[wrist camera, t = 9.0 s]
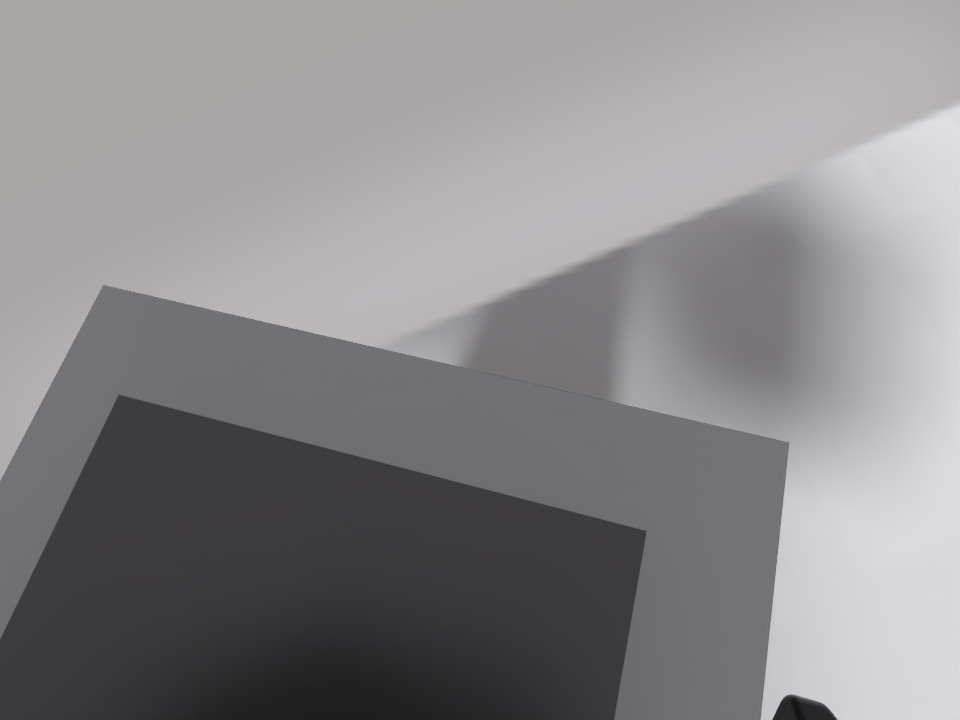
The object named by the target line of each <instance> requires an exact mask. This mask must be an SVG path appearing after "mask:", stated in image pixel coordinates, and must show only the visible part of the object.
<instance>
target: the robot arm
mask: <svg viewBox="0 0 960 720" xmlns="http://www.w3.org/2000/svg"><path fill="white" fill-rule="evenodd" d="M773 720H837V718H836V717H835V716H834V714H833V713H832V712H831V711H830V710H829V708H827V707H826V706H825V705H824V704H822V703H820V702H817V701H814V700H810V699H807V698H803V697H799V696H796V695H787V696H785V697H784V698H783V700H782V701H781V703H780V705H779V707H778V709H777V711H776V713H775V715H774V717H773Z"/></svg>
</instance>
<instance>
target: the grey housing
mask: <svg viewBox="0 0 960 720" xmlns="http://www.w3.org/2000/svg"><path fill="white" fill-rule="evenodd" d="M788 448H789V443H788V442H784V441H779V440H775V439H771V438H766V437H762V436H758V435H753V434H749V433H745V432H740V431H736V430H732V429H727V428H723V427H719V426H714V425H710V424H705V423H701V422H697V421H692V420H688V419H684V418H679V417H675V416H671V415H666V414H662V413H658V412H653V411H649V410H645V409H640V408H636V407H632V406H627V405H623V404H618V403H614V402H610V401H605V400H601V399H597V398H592V397H588V396H584V395H579V394H575V393H571V392H566V391H562V390H558V389H553V388H549V387H544V386H540V385H536V384H531V383H527V382H523V381H518V380H514V379H510V378H505V377H501V376H497V375H492V374H488V373H484V372H479V371H475V370H471V369H466V368H462V367H457V366H453V365H449V364H444V363H440V362H436V361H431V360H427V359H423V358H418V357H414V356H410V355H405V354H401V353H397V352H392V351H388V350H384V349H379V348H375V347H370V346H366V345H362V344H357V343H353V342H349V341H344V340H340V339H336V338H331V337H327V336H322V335H318V334H314V333H309V332H305V331H301V330H297V329H292V328H288V327H283V326H279V325H274V324H270V323H265V322H262V321H257V320H253V319H248V318H244V317H240V316H236V315H231V314H227V313H223V312H218V311H214V310H209V309H205V308H201V307H196V306H192V305H187V304H183V303H179V302H175V301H170V300H166V299H162V298H157V297H153V296H149V295H144V294H140V293H135V292H131V291H127V290H122V289H118V288H114V287H109V286H105V285H104V286H103V287H102V289H101V291H100V293H99V294H98V296H97V298H96V300H95V302H94V304H93V306H92V308H91V310H90V312H89V313H88V315H87V317H86V319H85V321H84V323H83V325H82V327H81V329H80V331H79V332H78V334H77V336H76V338H75V340H74V342H73V344H72V346H71V348H70V350H69V352H68V353H67V355H66V357H65V359H64V361H63V363H62V365H61V367H60V369H59V371H58V373H57V375H56V376H55V378H54V380H53V382H52V384H51V386H50V388H49V390H48V391H47V394H46V395H45V398H44V399H43V401H42V403H41V405H40V407H39V409H38V410H37V412H36V414H35V416H34V418H33V420H32V422H31V424H30V426H29V428H28V430H27V431H26V433H25V435H24V437H23V439H22V441H21V443H20V445H19V447H18V449H17V450H16V452H15V455H14V456H13V458H12V460H11V462H10V464H9V466H8V468H7V470H6V471H5V473H4V475H3V477H2V479H1V481H0V720H760V718H761V709H762V699H763V689H764V680H765V670H766V660H767V651H768V641H769V631H770V622H771V612H772V602H773V593H774V583H775V574H776V564H777V554H778V545H779V535H780V525H781V516H782V506H783V496H784V487H785V477H786V467H787V458H788Z"/></svg>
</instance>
